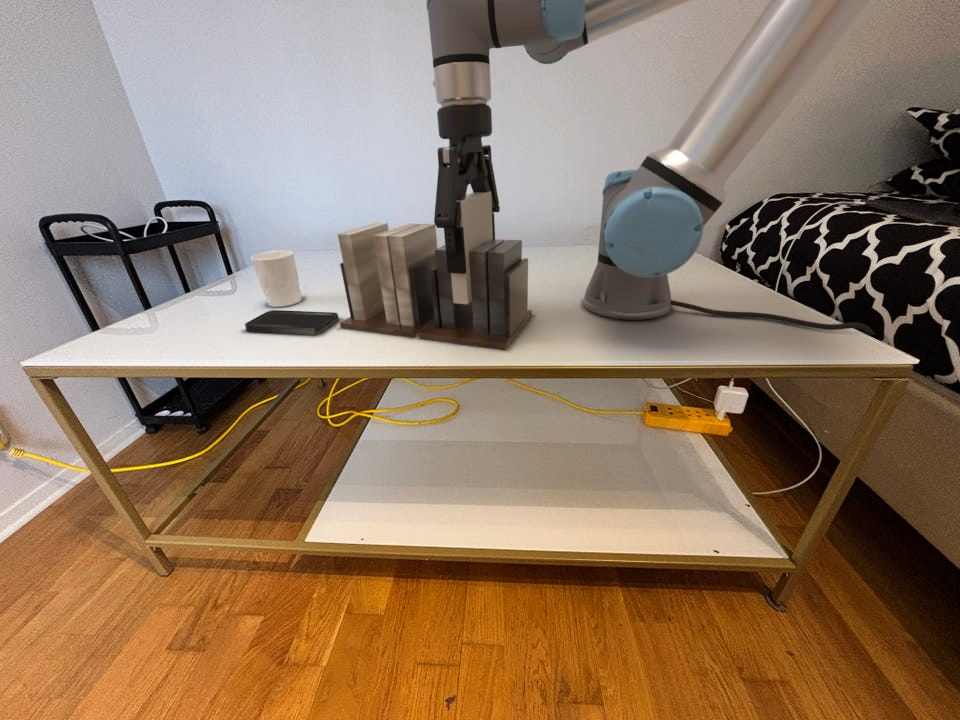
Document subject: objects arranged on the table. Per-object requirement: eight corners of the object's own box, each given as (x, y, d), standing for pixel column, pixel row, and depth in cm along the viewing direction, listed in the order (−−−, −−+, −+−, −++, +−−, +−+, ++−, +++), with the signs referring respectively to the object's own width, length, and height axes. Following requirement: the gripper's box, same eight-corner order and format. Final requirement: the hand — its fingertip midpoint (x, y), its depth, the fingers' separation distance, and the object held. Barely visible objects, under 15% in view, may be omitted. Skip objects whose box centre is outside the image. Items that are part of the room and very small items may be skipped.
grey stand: (531, 315, 75) (533, 236, 68) (505, 350, 63) (504, 258, 56) (457, 307, 80) (451, 234, 74) (419, 338, 68) (408, 253, 61)
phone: (270, 309, 80) (340, 312, 77) (271, 315, 80) (341, 318, 77) (241, 325, 73) (316, 329, 70) (243, 331, 73) (318, 335, 70)
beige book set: (452, 307, 80) (445, 222, 73) (413, 337, 68) (401, 239, 61) (387, 300, 86) (375, 220, 78) (340, 328, 73) (320, 236, 66)
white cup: (286, 309, 83) (273, 260, 79) (256, 306, 86) (241, 258, 81) (312, 297, 90) (301, 251, 85) (283, 294, 92) (271, 249, 88)
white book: (494, 282, 73) (491, 191, 66) (467, 304, 63) (460, 200, 56) (481, 281, 74) (477, 191, 67) (453, 303, 64) (444, 200, 57)
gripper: (472, 112, 68) (479, 245, 77) (392, 101, 48) (415, 282, 58) (516, 107, 65) (518, 246, 75) (450, 95, 45) (464, 285, 55)
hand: (473, 262), depth 66 cm, fingers closed on white book, 12 cm apart
